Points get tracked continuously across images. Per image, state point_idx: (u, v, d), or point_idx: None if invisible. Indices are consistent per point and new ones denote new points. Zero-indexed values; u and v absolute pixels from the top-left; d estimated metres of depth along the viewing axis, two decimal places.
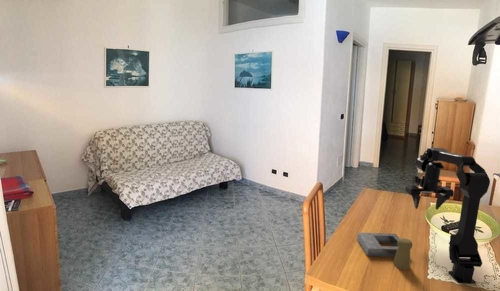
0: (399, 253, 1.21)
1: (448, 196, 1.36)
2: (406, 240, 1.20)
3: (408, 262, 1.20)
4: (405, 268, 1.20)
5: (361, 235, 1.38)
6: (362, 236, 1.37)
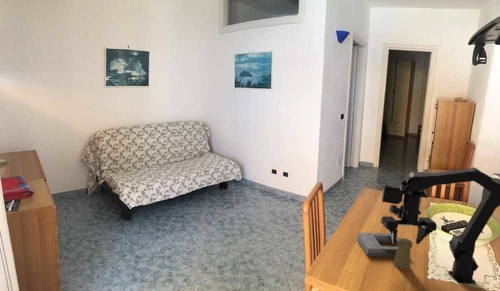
0: (399, 253, 1.21)
1: (430, 230, 1.16)
2: (406, 240, 1.20)
3: (408, 262, 1.20)
4: (405, 268, 1.20)
5: (361, 235, 1.38)
6: (362, 236, 1.37)
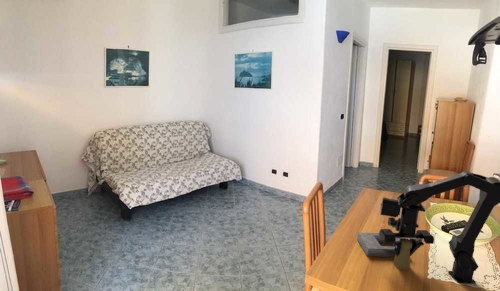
0: (399, 253, 1.21)
1: (427, 243, 1.17)
2: (406, 240, 1.20)
3: (408, 262, 1.20)
4: (405, 268, 1.20)
5: (361, 235, 1.38)
6: (362, 236, 1.37)
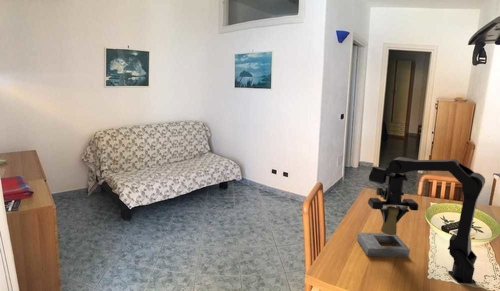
0: (386, 220, 1.30)
1: None
2: (393, 208, 1.30)
3: (394, 228, 1.30)
4: (392, 233, 1.30)
5: (361, 235, 1.38)
6: (362, 236, 1.37)
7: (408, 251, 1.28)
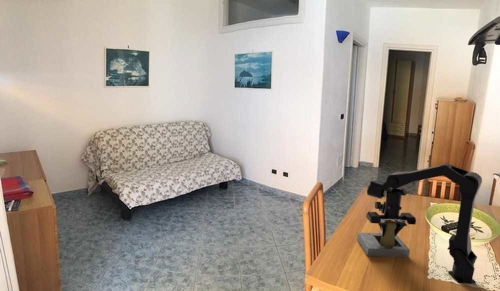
0: (385, 233, 1.32)
1: None
2: (391, 221, 1.31)
3: (393, 242, 1.31)
4: None
5: (361, 235, 1.38)
6: (362, 236, 1.37)
7: (408, 251, 1.28)
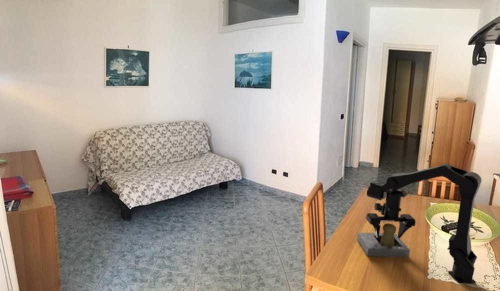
0: (384, 237, 1.32)
1: (409, 225, 1.29)
2: (390, 225, 1.32)
3: (392, 245, 1.32)
4: None
5: (361, 235, 1.38)
6: (362, 236, 1.37)
7: (408, 251, 1.28)
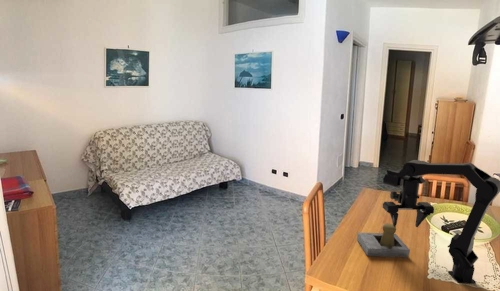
0: (384, 237, 1.32)
1: (428, 213, 1.25)
2: (390, 225, 1.32)
3: (392, 245, 1.32)
4: None
5: (361, 235, 1.38)
6: (362, 236, 1.37)
7: (408, 251, 1.28)
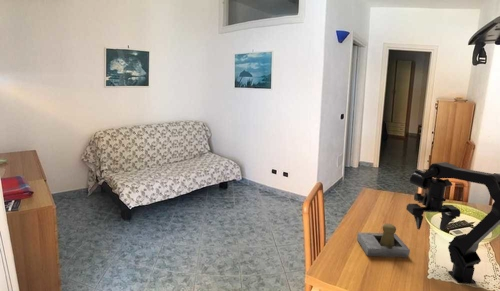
0: (384, 237, 1.32)
1: (454, 216, 1.22)
2: (390, 225, 1.32)
3: (392, 245, 1.32)
4: None
5: (361, 235, 1.38)
6: (362, 236, 1.37)
7: (408, 251, 1.28)
